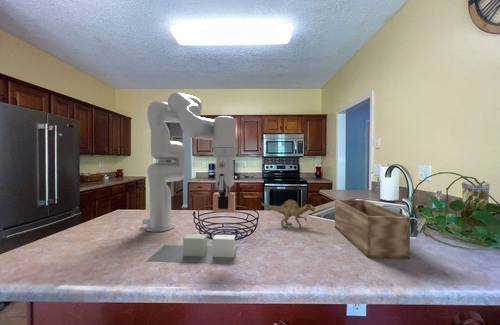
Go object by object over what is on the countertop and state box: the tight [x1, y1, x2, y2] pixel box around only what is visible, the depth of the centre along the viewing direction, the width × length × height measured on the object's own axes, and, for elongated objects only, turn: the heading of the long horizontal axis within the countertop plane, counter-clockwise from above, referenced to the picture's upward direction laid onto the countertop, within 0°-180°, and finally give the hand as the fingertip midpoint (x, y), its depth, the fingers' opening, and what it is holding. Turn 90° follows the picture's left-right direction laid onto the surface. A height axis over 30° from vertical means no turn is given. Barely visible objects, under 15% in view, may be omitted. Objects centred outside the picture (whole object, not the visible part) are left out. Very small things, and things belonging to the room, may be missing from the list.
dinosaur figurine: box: [260, 199, 316, 229], centre depth 108 cm, size 8×26×13 cm, turn 80°
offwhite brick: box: [212, 234, 236, 257], centre depth 73 cm, size 7×4×6 cm, turn 87°
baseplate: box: [146, 244, 239, 265], centre depth 74 cm, size 28×13×1 cm, turn 87°
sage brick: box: [182, 233, 208, 257], centre depth 74 cm, size 7×4×6 cm, turn 87°
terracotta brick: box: [212, 191, 236, 214], centre depth 73 cm, size 7×4×6 cm, turn 87°
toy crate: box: [334, 199, 411, 260], centre depth 89 cm, size 14×32×14 cm, turn 177°
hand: (224, 206), depth 73 cm, fingers closed on terracotta brick, 3 cm apart
